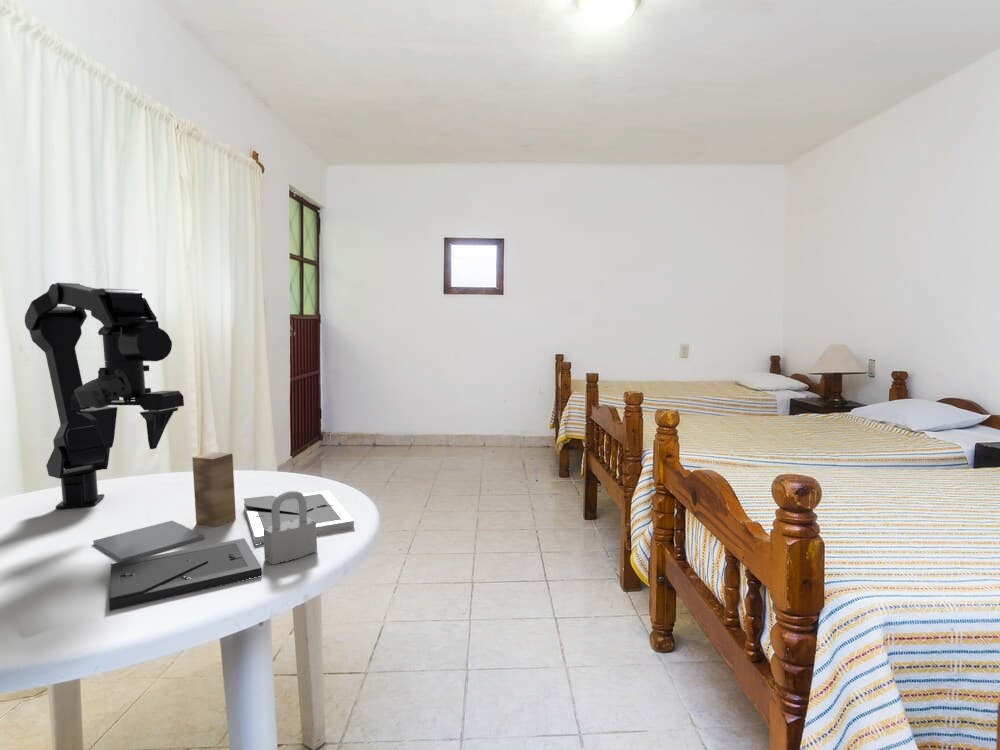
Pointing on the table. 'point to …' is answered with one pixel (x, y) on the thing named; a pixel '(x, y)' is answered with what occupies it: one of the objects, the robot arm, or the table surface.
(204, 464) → the block
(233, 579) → the picture frame
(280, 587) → the table surface
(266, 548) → the padlock
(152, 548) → the coaster
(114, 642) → the table surface
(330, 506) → the picture frame
